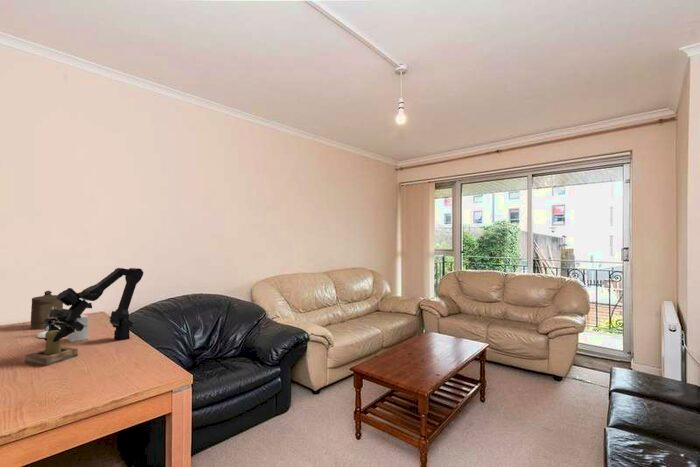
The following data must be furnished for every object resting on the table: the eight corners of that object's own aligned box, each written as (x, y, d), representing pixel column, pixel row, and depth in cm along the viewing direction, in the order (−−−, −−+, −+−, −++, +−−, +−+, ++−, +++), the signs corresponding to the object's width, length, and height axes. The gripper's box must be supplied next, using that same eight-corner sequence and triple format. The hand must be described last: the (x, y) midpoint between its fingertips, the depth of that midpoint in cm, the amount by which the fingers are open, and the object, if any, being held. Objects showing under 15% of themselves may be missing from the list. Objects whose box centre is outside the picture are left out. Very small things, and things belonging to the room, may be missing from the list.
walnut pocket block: (57, 353, 161) (57, 346, 161) (77, 356, 158) (77, 348, 158) (24, 363, 149) (25, 355, 149) (46, 366, 145) (46, 358, 145)
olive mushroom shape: (46, 357, 149) (46, 333, 149) (41, 355, 153) (42, 331, 153) (63, 353, 154) (63, 330, 154) (58, 351, 158) (59, 328, 158)
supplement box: (71, 342, 177) (71, 318, 178) (67, 339, 182) (67, 316, 182) (88, 339, 183) (88, 316, 183) (84, 336, 188) (84, 314, 188)
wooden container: (59, 321, 219) (60, 288, 219) (65, 325, 209) (65, 290, 210) (28, 326, 207) (29, 290, 207) (32, 330, 198) (33, 293, 198)
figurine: (87, 329, 199) (85, 302, 199) (53, 339, 181) (51, 309, 181) (63, 330, 204) (61, 303, 204) (27, 339, 186) (25, 310, 187)
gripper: (47, 300, 160) (19, 330, 149) (77, 303, 155) (50, 333, 144) (65, 313, 167) (40, 342, 157) (94, 316, 163) (69, 346, 152)
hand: (49, 341), depth 152 cm, fingers closed on olive mushroom shape, 5 cm apart
